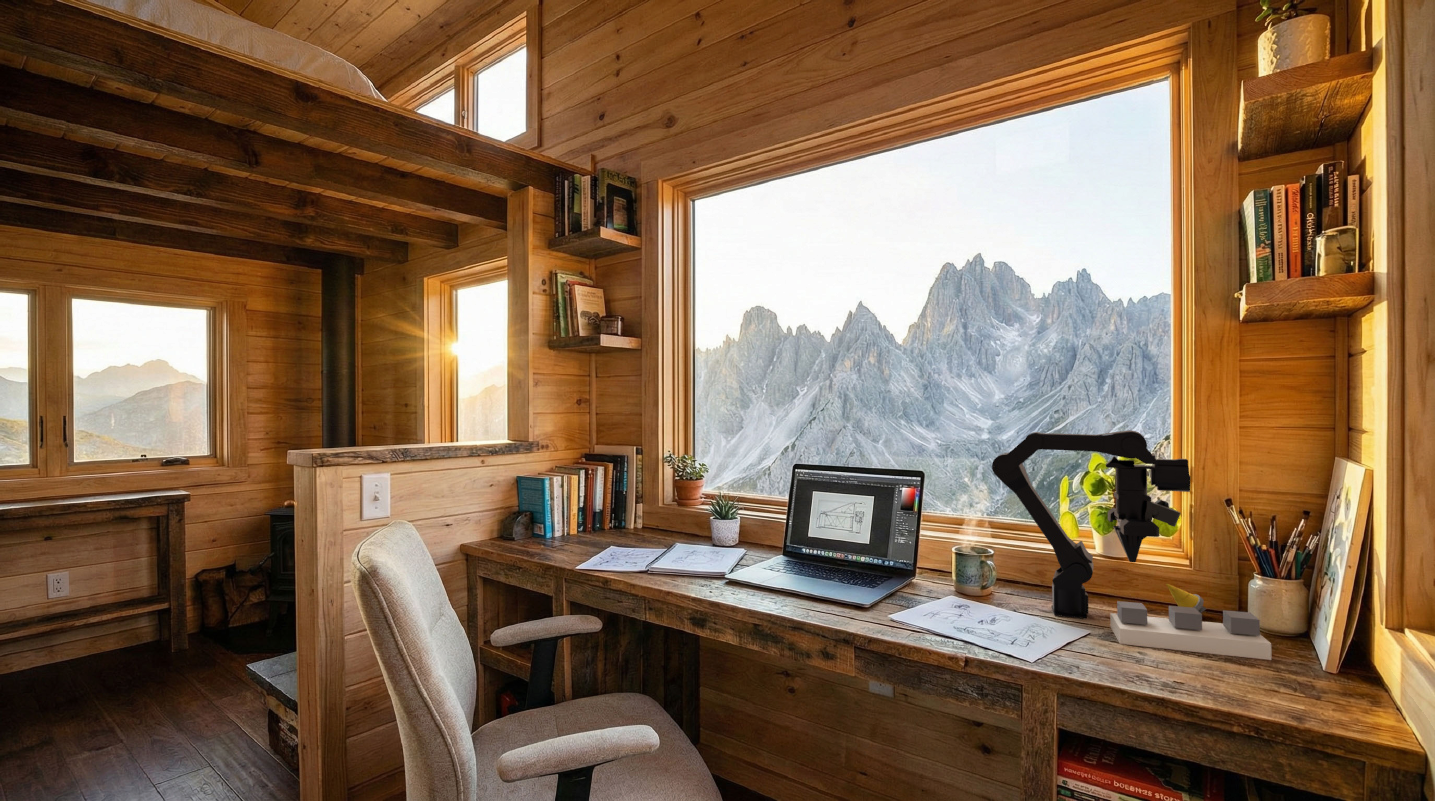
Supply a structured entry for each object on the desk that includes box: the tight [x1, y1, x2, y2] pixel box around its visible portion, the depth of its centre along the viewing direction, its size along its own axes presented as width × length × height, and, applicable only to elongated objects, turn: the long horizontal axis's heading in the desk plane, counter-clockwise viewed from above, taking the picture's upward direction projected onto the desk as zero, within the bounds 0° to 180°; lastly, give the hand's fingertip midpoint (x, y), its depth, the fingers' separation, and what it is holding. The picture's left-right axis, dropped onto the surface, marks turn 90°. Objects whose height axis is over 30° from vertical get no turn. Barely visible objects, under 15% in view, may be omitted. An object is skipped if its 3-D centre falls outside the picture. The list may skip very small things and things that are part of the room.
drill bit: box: [1165, 583, 1207, 617], centre depth 146 cm, size 5×5×10 cm
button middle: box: [1168, 605, 1203, 630], centre depth 130 cm, size 4×4×6 cm
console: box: [1109, 612, 1272, 661], centre depth 130 cm, size 24×10×3 cm, turn 68°
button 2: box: [1222, 610, 1261, 636], centre depth 126 cm, size 4×4×6 cm
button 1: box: [1116, 600, 1148, 625], centre depth 133 cm, size 4×4×6 cm
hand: (1132, 561), depth 141 cm, fingers closed
